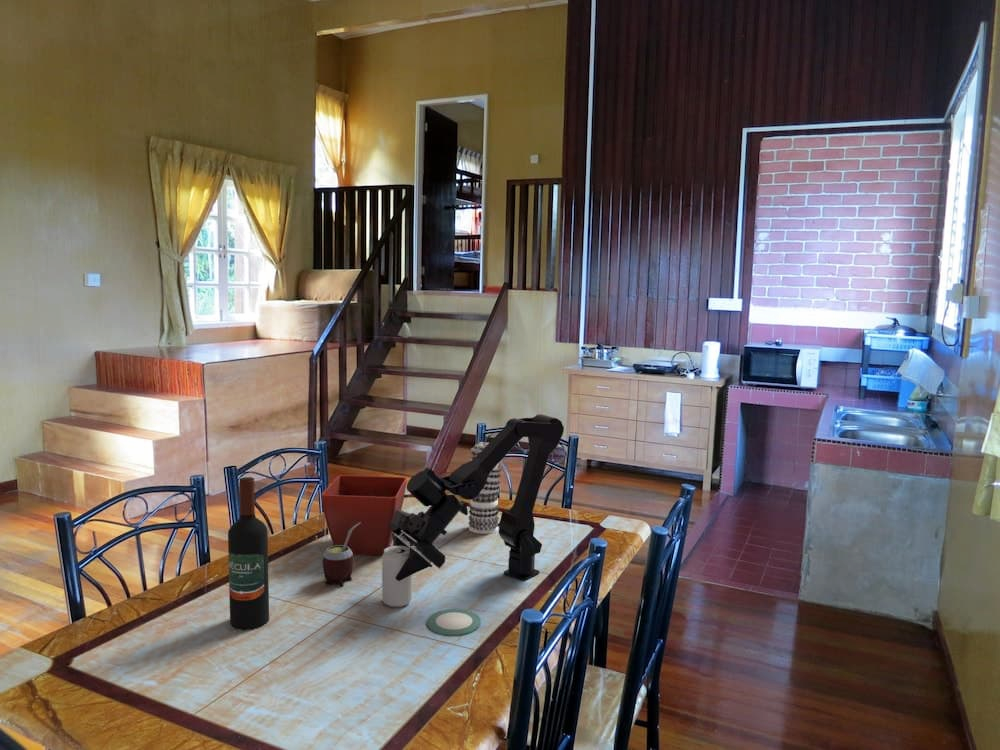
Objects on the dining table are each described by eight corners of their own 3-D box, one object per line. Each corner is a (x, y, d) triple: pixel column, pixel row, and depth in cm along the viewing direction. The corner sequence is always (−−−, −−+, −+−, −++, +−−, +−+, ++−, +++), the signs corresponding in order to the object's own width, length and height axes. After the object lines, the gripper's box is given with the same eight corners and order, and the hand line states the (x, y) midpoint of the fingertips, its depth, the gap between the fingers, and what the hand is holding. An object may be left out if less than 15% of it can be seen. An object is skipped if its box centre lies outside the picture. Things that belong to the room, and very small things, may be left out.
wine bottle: (276, 616, 149) (274, 476, 146) (253, 632, 142) (250, 485, 139) (246, 610, 152) (243, 472, 148) (221, 626, 145) (218, 481, 141)
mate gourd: (319, 578, 169) (319, 517, 167) (352, 573, 173) (352, 513, 171) (327, 590, 163) (327, 526, 161) (361, 584, 166) (361, 522, 164)
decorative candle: (462, 525, 209) (463, 441, 206) (491, 522, 213) (493, 439, 210) (474, 535, 201) (476, 448, 198) (504, 531, 205) (506, 446, 202)
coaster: (452, 606, 156) (452, 604, 156) (491, 621, 149) (491, 619, 149) (416, 624, 147) (416, 621, 147) (456, 641, 141) (456, 638, 141)
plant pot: (395, 561, 181) (395, 496, 179) (320, 559, 181) (319, 494, 179) (407, 535, 200) (407, 476, 198) (338, 533, 200) (338, 475, 198)
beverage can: (406, 610, 154) (406, 556, 152) (377, 607, 155) (377, 553, 153) (415, 597, 160) (415, 546, 158) (388, 594, 161) (388, 543, 160)
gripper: (397, 486, 165) (351, 540, 160) (432, 508, 149) (382, 569, 144) (427, 514, 170) (383, 567, 165) (465, 538, 154) (418, 598, 149)
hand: (391, 574), depth 156 cm, fingers closed on beverage can, 6 cm apart
